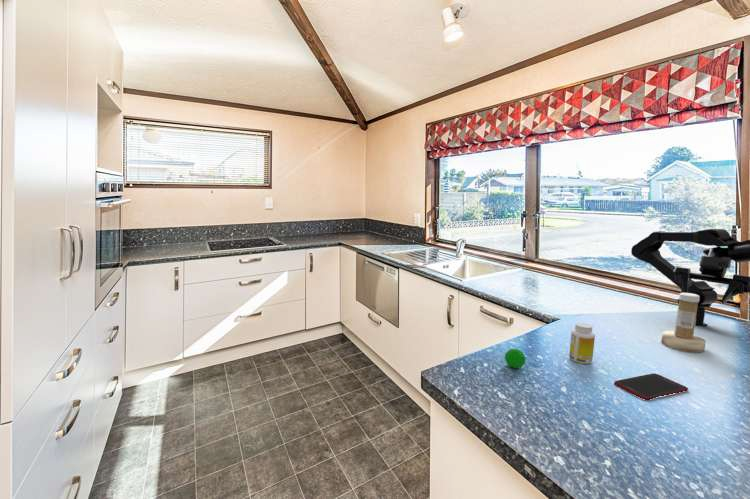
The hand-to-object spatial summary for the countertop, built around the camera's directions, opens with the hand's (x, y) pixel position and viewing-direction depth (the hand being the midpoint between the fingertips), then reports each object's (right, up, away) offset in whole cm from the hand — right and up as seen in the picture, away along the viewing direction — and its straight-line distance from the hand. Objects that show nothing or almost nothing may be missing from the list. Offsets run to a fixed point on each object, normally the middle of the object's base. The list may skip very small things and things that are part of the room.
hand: (702, 299), depth 114 cm
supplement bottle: (-51, -15, -17) cm, 55 cm away
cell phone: (-42, -17, -31) cm, 55 cm away
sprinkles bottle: (-13, -11, -7) cm, 18 cm away
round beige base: (-13, -14, -7) cm, 20 cm away
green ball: (-71, -15, -22) cm, 75 cm away
